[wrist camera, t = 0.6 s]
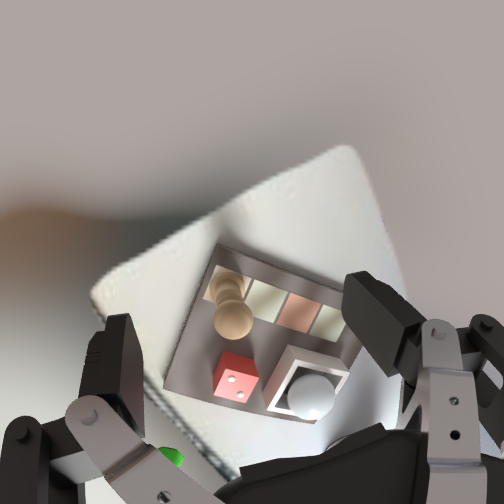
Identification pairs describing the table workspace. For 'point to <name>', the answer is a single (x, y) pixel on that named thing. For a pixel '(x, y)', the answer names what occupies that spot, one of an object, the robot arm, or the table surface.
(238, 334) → the pawn
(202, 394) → the board
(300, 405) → the white ball
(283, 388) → the housing
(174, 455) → the gemstone
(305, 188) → the table surface
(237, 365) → the die
